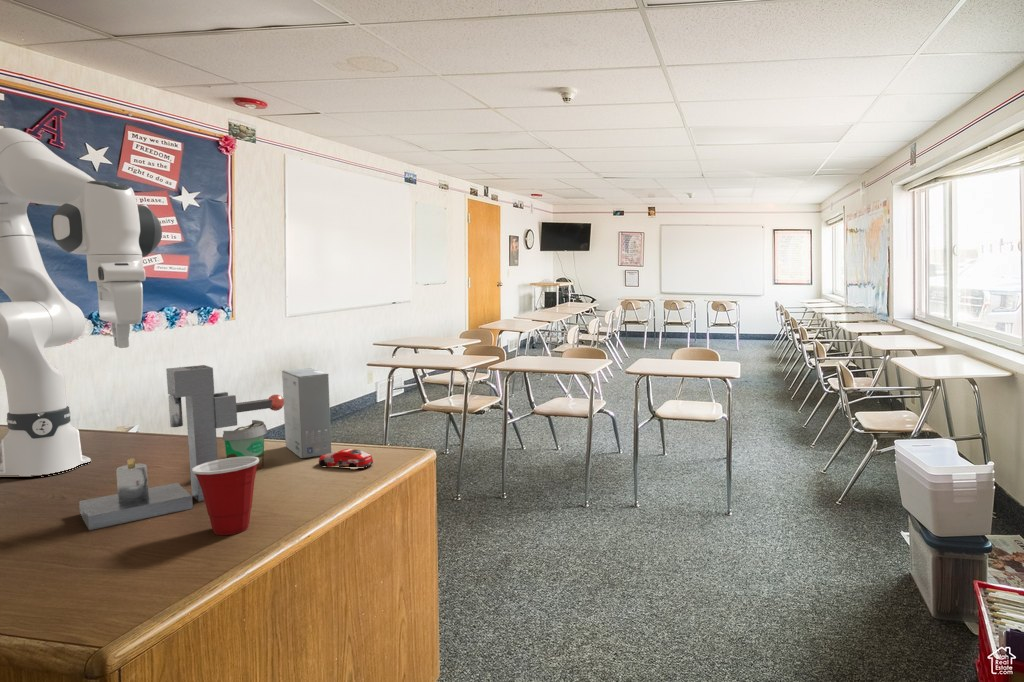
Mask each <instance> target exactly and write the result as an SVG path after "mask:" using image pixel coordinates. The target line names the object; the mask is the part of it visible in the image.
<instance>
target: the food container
mask: <svg viewBox="0 0 1024 682" xmlns="http://www.w3.org/2000/svg"><path fill="white" fill-rule="evenodd" d="M222 432H223V433H222V441H224V447H225V455H226V456H225V457H226V458H233V457H258V458H259V462H258V463H257V464H258V465H257V467H256V472H257V471H258V470H259V471H260V470H262V469H263V468H264V462H265V461H264V458H265V435H266V434H267V433H268V428H267V426H266V424H265V422H264V421H262V420H258V419H252V420H251V424H249V425H246V426H239V427H237V428H236V429H233V430H223V431H222Z"/></svg>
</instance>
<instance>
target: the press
mask: <svg viewBox="0 0 1024 682" xmlns="http://www.w3.org/2000/svg"><path fill="white" fill-rule="evenodd" d="M165 371H166V384H167V395H168V398H167V399H168V409H169V410H168V412H169V425H170V426H169V427H170V428H179V427H183V426H184V420H183V419H184V418H183V407H182V405H183V404H182V398H183V397H184V398H185V411H186V412H185V413H186V427H187V440H188V456H189V472H190V488H191V493H190V492H188V490H186V489H185V488H184V487H183V486H182V485H180V483H179V482H174V483H168V484H162V485H158V486H157V485H156V486H152V487H148V492H149V497H148V498H147V499H145V500H142V501H138V502H132V503H121V502H119V500H118V493H115V494H109V495H105V496H100V497H99V496H98V497H93V498H90V499H84V500H79V501H78V504H79V505H78V506H79V515H80V514H81V515H80V517H81V516H82V517H81V518H82V520H83V522H84V523H85V525H86V528H87V529H88V530H89V531H94V530H98V529H103V528H106V527H112V526H117V525H120V524H121V525H122V524H125V523H130V522H131V523H132V522H137V521H139V520H144V519H150V518H153V517H159V516H163V515H168V514H173V513H179V512H183V511H187V510H191V509H193V508H194V505H193V498H194V499H195V500H196V501H197V502H205V500H204V496H203V493H202V489H201V486H200V483H199V481H198V479H197V477H196V475H195V473H193V471H192V468H194V467H196V466H198V465H201V464H204V463H207V462H211V461H215V460H219V457H218V441H217V429H221V428H228V427H235V426H238V413H237V409H236V403H237V397H236V394H235V395H234V394H231V395H229V393H228V391H223V392H216V393H215V379H214V368H213V367H211V366H209V365H205V364H201V365H190V366H189V365H188V366H179V367H170V368H165Z"/></svg>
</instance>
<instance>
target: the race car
mask: <svg viewBox="0 0 1024 682" xmlns="http://www.w3.org/2000/svg"><path fill="white" fill-rule="evenodd" d="M372 463H373V464H374V459H373V456H372V455H371V454H370V453H368V452H366V451H363V450H360V449H355V448H345V449H341V450H340V451H337V452H332V453H329V454H325V455H320V456H319V459H318V465H319V466H320V467H321V466H339V467H366V466H368V467H370V466H372V465H371V464H372ZM369 465H370V466H369ZM366 468H367V467H366Z"/></svg>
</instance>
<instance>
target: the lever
mask: <svg viewBox="0 0 1024 682" xmlns="http://www.w3.org/2000/svg"><path fill="white" fill-rule="evenodd" d="M282 408H284V399H283V396H282V395H279V394H272V395H270V396H269V397H268V398H264V399H258V400H257V399H256V400H251V401H249V400H248V401H243V402H242V401H241V402H240V401H239V402H236V409H237V414H239V413H244V412H250V411H252V412H253V411H258V410H267V409H269V410H271V411H274V412H275V411H276V412H277V411H280V410H282Z"/></svg>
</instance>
